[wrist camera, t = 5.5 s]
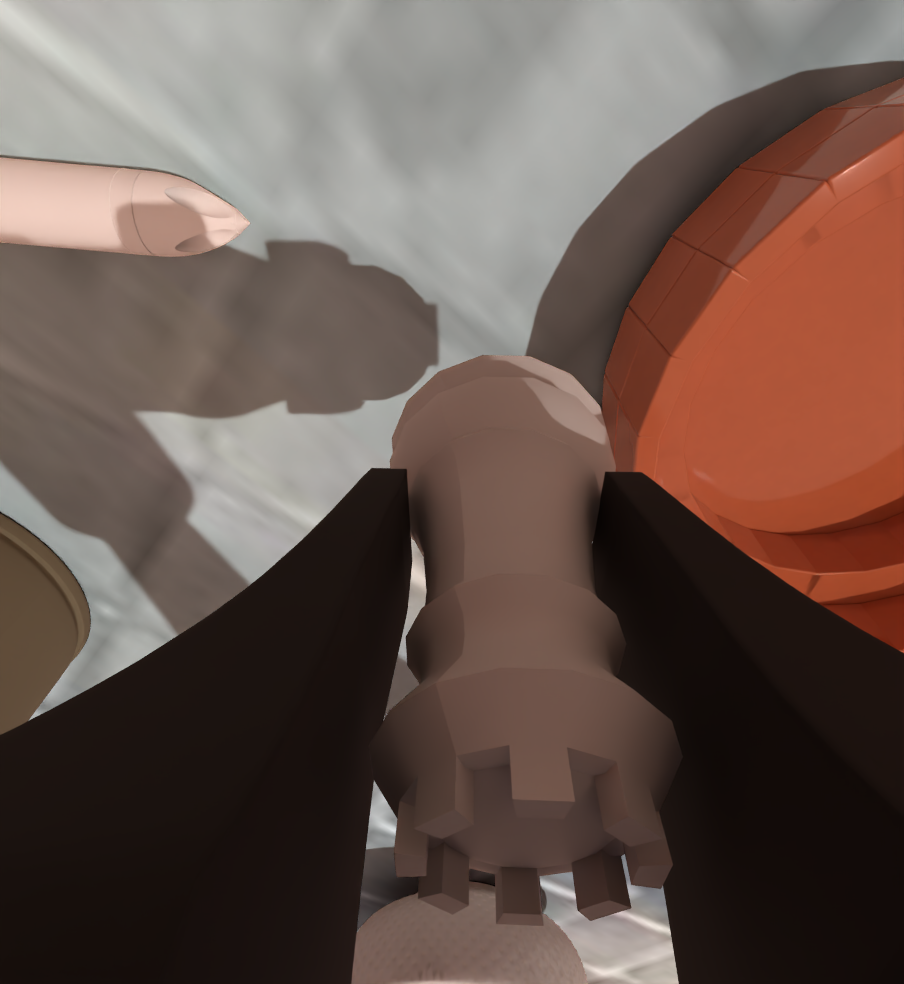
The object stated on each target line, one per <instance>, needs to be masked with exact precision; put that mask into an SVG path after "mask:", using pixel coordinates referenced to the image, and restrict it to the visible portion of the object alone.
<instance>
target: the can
mask: <svg viewBox="0 0 904 984" xmlns="http://www.w3.org/2000/svg"><path fill="white" fill-rule="evenodd" d="M90 623H91V620H90V612H89V608H88V604H87V601H86V599H85V596H84V594H83V592H82V590H81V588H80V586H79V584H78V583H77V581H76V579H75V578H74V576H73V575H72V574H71V572H70V571H69V570H68V568H67V567H66V566H65V565H64V564H63V563H62V561H61V560H60V559H59V558H58V557H57V556H56V555H55V554H54V553H53V552H52V551H51V550H50V549H49V548H48V547H47V546H46V545H44V544H43V543H42V542H41V541H40V540H38V539H37V538H36V537H35V536H34V535H32V534H31V533H29V532H28V531H27V530H25V529H24V528H23V527H21V526H20V525H18V524H17V523H15V522H14V521H12V520H11V519H9V518H7V517H5V516H4V515H2V514H0V735H1V734H3V733H5V732H7V731H9V730H12V729H14V728H16V727H18V726H20V725H22V724H24V723H26V722H27V721H28V720H29V719H30V718H31V716H32V715H33V714H34V712H35V711H36V709H37V708H38V707H39V705H40V704H41V703H42V701H43V700H44V699H45V697H46V696H47V695H48V693H49V692H50V691H51V689H52V688H53V687H54V685H55V684H56V683H57V681H58V680H59V678H60V677H61V676H62V674H63V673H64V671H65V670H66V668H67V667H68V665H69V664H70V663H71V662H72V661H73V660H74V658H75V657H76V656H77V655H78V654H79V652H80V651H81V650H82V648H83V646H84V645H85V643H86V641H87V638H88V636H89V632H90Z"/></svg>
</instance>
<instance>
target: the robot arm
mask: <svg viewBox="0 0 904 984" xmlns="http://www.w3.org/2000/svg"><path fill="white" fill-rule="evenodd" d="M592 553H593V568H594V584H595V591H596V595H597V598H598V599H600V600H601V601H602V602H603V603H604V604H605V605H606V606H607V607H609V608H610V609H611V610H612V611H613V612H614V613H615V614H616V615H617V618H618V621H619V624H620V627H621V630H622V633H623V635H624V638H625V641H626V647H625V651H624V655H623V658H622V662H621V666H620V669H619V673H618V674H617V675H616V678H618V679H619V680H620V681H622V682H623V683H625V684H626V685H628V686H629V687H631V688H632V689H634V690H635V691H636V692H637V693H638V694H640V695H641V696H642V697H643V698H645V699H646V700H647V701H648V702H649V703H651V704H652V705H653V706H654V707H656V708H657V709H658V710H659V711H660V712H662V713H663V714H664V715H665V716H667V717H668V718H669V719H670V720H671V721H672V723H673V726H674V729H675V732H676V736H677V739H678V742H679V746H680V749H681V752H682V755H683V758H682V760H681V763H680V765H679V767H678V770H677V772H676V774H675V777H674V779H673V781H672V784H671V786H670V788H669V791H668V793H667V795H666V797H665V800H664V802H663V804H662V806H661V808H660V811H659V815H660V818H661V822H662V826H663V829H664V833H665V837H666V840H667V844H668V848H669V852H670V855H671V859H672V863H673V866H672V868H671V870H670V872H669V874H668V876H667V878H666V880H665V882H664V884H663V888H664V894H665V900H666V906H667V912H668V918H669V924H670V931H671V937H672V943H673V949H674V956H675V962H676V968H677V974H678V981H679V984H904V653H903V652H901V651H899V650H897V649H895V648H894V647H892V646H890V645H888V644H887V643H885V642H883V641H881V640H879V639H878V638H876V637H874V636H872V635H870V634H869V633H867V632H865V631H863V630H862V629H860V628H858V627H857V626H855V625H854V624H852V623H850V622H849V621H847V620H845V619H844V618H842V617H840V616H839V615H837V614H835V613H834V612H832V611H830V610H829V609H827V608H825V607H824V606H822V605H820V604H819V603H817V602H815V601H814V600H812V599H811V598H809V597H808V596H806V595H805V594H803V593H802V592H800V591H798V590H797V589H795V588H794V587H792V586H791V585H789V584H788V583H786V582H785V581H784V580H782V579H781V578H779V577H778V576H776V575H775V574H774V573H772V572H771V571H769V570H768V569H766V568H765V567H764V566H762V565H761V564H759V563H758V562H756V561H755V560H754V559H752V558H751V557H750V556H748V555H747V554H746V553H744V552H743V551H741V550H740V549H739V548H737V547H736V546H735V545H733V544H732V543H731V542H730V541H728V540H727V539H726V538H724V537H723V536H722V535H720V534H719V533H718V532H717V531H715V530H714V529H713V528H712V527H710V526H709V525H708V524H706V523H705V522H704V521H703V520H701V519H700V518H699V517H698V516H696V515H695V514H694V513H693V512H692V511H690V510H689V509H688V508H687V507H685V506H684V505H683V504H682V503H681V502H679V501H678V500H677V499H676V498H674V497H673V496H672V495H671V494H670V493H668V492H667V491H666V490H665V489H663V488H662V487H661V486H660V485H658V484H657V483H656V482H655V481H653V480H652V479H651V478H649V477H648V476H647V475H645V474H644V473H642V472H605V475H604V480H603V486H602V492H601V497H600V507H599V512H598V518H597V523H596V529H595V534H594V538H593V543H592ZM411 568H412V549H411V532H410V515H409V498H408V480H407V469H393V468H371V469H370V470H369V471H368V472H367V473H366V474H365V475H364V476H363V477H362V478H361V479H360V480H359V481H358V482H357V484H356V485H355V486H354V487H353V488H352V489H351V490H350V491H349V492H348V493H347V494H346V496H345V497H344V498H343V499H342V500H341V501H340V502H339V503H338V504H337V505H336V506H335V507H334V508H333V509H332V510H331V512H330V513H329V514H328V515H327V516H326V517H325V518H324V519H323V520H322V521H321V522H320V523H319V524H318V525H317V526H316V527H315V528H314V529H313V530H312V531H311V532H310V533H309V534H308V535H307V536H306V537H305V538H303V539H302V540H301V541H300V542H299V543H298V544H297V545H296V546H295V547H294V548H293V549H291V550H290V551H289V552H288V553H287V554H286V555H285V556H284V557H283V558H281V559H280V560H279V561H278V562H277V563H276V564H275V565H274V566H272V567H271V568H270V569H269V570H268V571H267V572H266V573H264V574H263V575H262V576H261V577H260V578H258V579H257V580H256V581H255V582H253V583H252V584H251V585H250V586H248V587H247V588H246V589H244V590H243V591H242V592H240V593H239V594H238V595H236V596H235V597H234V598H232V599H231V600H230V601H228V602H227V603H225V604H224V605H223V606H221V607H220V608H219V609H217V610H216V611H215V612H213V613H212V614H210V615H209V616H207V617H206V618H205V619H203V620H202V621H200V622H198V623H197V624H195V625H194V626H192V627H191V628H189V629H187V630H186V631H184V632H183V633H181V634H180V635H178V636H177V637H175V638H173V639H172V640H170V641H169V642H167V643H166V644H164V645H162V646H161V647H159V648H158V649H156V650H155V651H153V652H151V653H150V654H148V655H147V656H145V657H144V658H142V659H141V660H139V661H137V662H135V663H134V664H132V665H130V666H129V667H127V668H125V669H123V670H122V671H120V672H118V673H116V674H115V675H113V676H111V677H109V678H108V679H106V680H104V681H102V682H101V683H99V684H97V685H95V686H94V687H92V688H90V689H88V690H86V691H84V692H83V693H81V694H79V695H77V696H75V697H73V698H71V699H69V700H68V701H66V702H64V703H62V704H60V705H58V706H56V707H55V708H53V709H51V710H49V711H47V712H45V713H43V714H41V715H39V716H37V717H35V718H33V719H31V720H29V721H27V722H26V723H24V724H22V725H20V726H18V727H16V728H14V729H12V730H9V731H7V732H5V733H3V734H1V735H0V984H351V982H352V972H353V962H354V953H355V943H356V934H357V924H358V914H359V905H360V895H361V886H362V877H363V868H364V860H365V851H366V842H367V833H368V824H369V816H370V808H371V799H372V791H373V783H374V779H373V771H372V764H371V756H370V749H369V744H370V743H371V741H372V739H373V738H374V736H375V734H376V733H377V731H378V729H379V728H380V726H381V724H382V723H383V720H384V715H385V711H386V706H387V702H388V697H389V693H390V688H391V684H392V679H393V675H394V670H395V666H396V661H397V656H398V652H399V647H400V643H401V638H402V633H403V629H404V624H405V619H406V615H407V609H408V600H409V590H410V579H411Z"/></svg>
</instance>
